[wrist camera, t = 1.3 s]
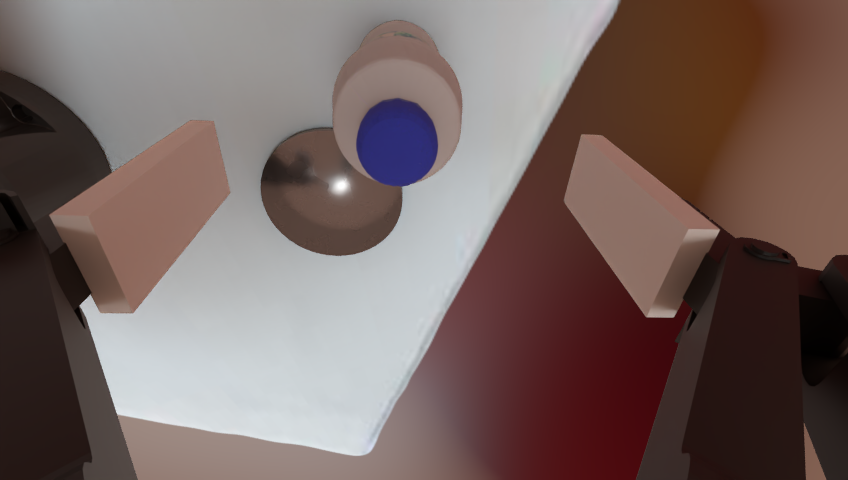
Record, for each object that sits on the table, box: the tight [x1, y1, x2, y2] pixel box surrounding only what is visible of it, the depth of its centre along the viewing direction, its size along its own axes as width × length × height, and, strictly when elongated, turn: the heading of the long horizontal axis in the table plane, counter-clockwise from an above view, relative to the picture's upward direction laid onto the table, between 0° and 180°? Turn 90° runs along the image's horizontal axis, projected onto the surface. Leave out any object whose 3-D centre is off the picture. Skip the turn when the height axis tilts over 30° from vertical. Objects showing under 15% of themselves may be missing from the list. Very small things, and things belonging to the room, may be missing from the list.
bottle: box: [333, 20, 462, 187], centre depth 24 cm, size 7×7×20 cm
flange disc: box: [261, 128, 402, 256], centre depth 38 cm, size 13×13×1 cm
